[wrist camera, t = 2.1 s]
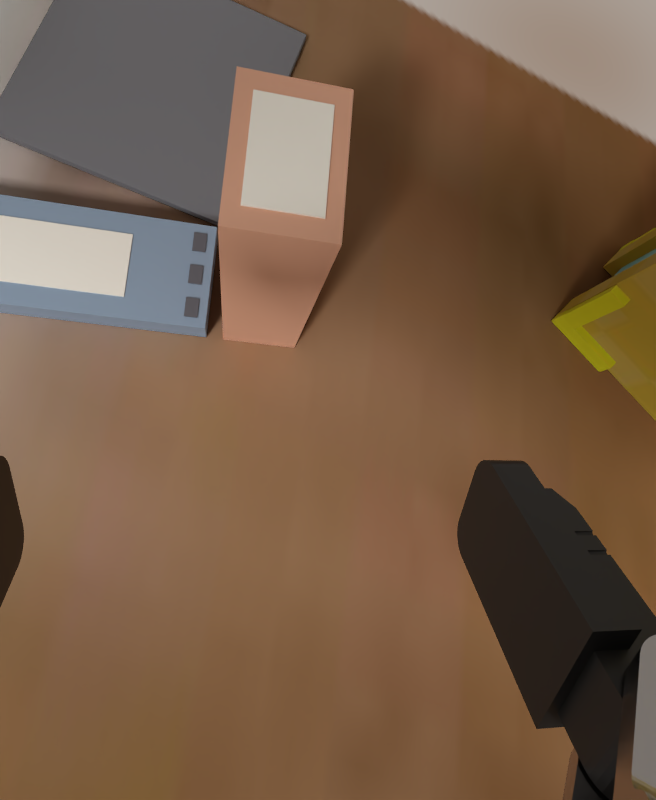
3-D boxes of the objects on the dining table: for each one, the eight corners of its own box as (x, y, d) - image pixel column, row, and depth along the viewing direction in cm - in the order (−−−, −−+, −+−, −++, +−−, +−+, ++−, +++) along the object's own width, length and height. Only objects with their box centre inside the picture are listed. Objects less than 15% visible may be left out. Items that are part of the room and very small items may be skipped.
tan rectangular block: (221, 339, 27) (214, 224, 15) (232, 243, 28) (234, 63, 16) (294, 347, 27) (342, 243, 16) (302, 253, 28) (354, 87, 17)
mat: (-13, 132, 26) (-16, 126, 26) (91, -57, 29) (89, -65, 28) (225, 228, 28) (225, 225, 27) (305, 40, 30) (306, 34, 30)
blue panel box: (-65, 304, 25) (-84, 292, 23) (-44, 202, 26) (-61, 184, 24) (206, 337, 27) (204, 327, 25) (217, 240, 28) (217, 226, 26)
